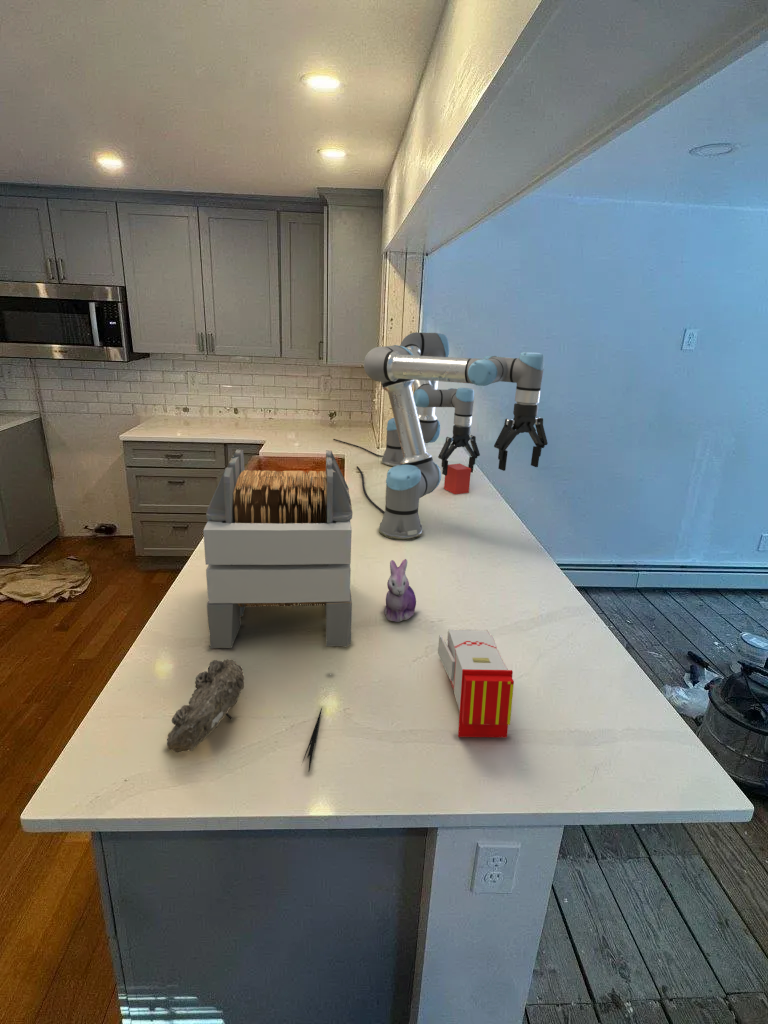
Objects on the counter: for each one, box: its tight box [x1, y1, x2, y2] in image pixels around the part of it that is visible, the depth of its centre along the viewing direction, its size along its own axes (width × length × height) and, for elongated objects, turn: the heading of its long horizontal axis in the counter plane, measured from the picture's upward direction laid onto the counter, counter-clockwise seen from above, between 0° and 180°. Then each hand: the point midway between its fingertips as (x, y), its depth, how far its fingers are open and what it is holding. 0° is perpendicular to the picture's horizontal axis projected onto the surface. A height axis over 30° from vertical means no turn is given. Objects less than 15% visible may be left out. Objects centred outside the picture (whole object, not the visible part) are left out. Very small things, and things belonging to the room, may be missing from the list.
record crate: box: [202, 448, 353, 650], centre depth 139 cm, size 34×33×41 cm
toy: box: [437, 628, 515, 738], centre depth 117 cm, size 12×13×30 cm
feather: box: [301, 673, 332, 771], centre depth 108 cm, size 2×28×2 cm
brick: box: [443, 463, 472, 495], centre depth 249 cm, size 9×7×11 cm
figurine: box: [384, 558, 417, 623], centre depth 145 cm, size 9×10×15 cm
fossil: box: [166, 658, 245, 754], centre depth 106 cm, size 22×10×15 cm
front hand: (518, 468), depth 187 cm, fingers open, 13 cm apart
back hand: (457, 473), depth 248 cm, fingers open, 13 cm apart
